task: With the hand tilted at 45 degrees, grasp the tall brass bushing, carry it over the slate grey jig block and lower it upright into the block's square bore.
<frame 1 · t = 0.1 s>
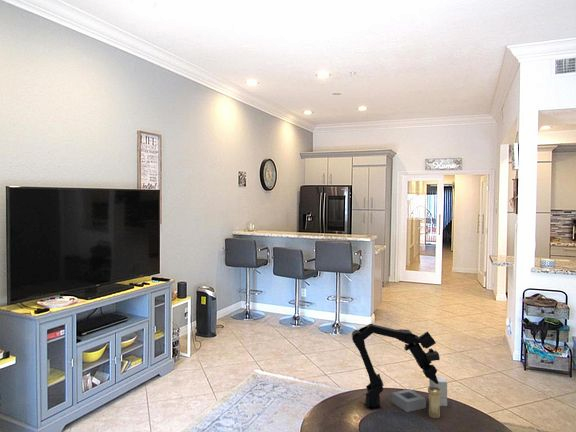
hand: (435, 380, 205), 15 cm above the table, tool tilted 35°, fingers open, 9 cm apart
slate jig: (408, 405, 210), on the table
supplement box: (438, 403, 212), on the table
brass bushing: (434, 415, 198), on the table
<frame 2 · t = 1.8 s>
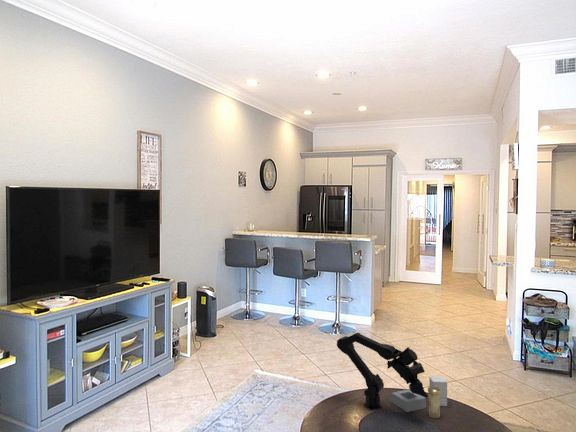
hand: (425, 392, 199), 11 cm above the table, tool tilted 45°, fingers open, 9 cm apart
nothing on the table moved.
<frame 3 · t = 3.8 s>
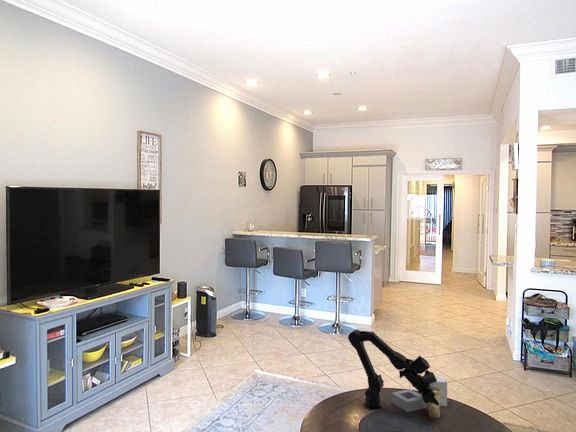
hand: (437, 402, 198), 7 cm above the table, tool tilted 45°, fingers closed on brass bushing, 5 cm apart
brass bushing: (434, 415, 198), on the table, touching gripper
everything else where it was.
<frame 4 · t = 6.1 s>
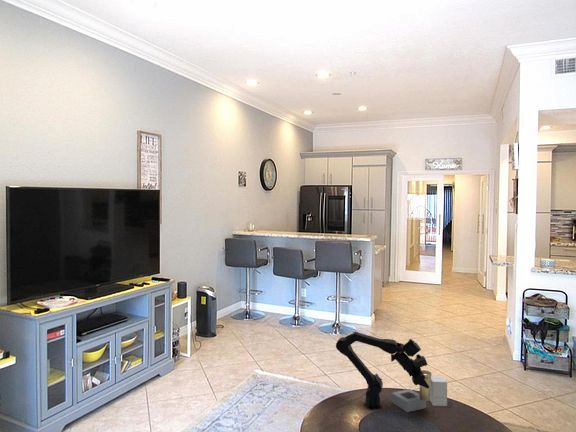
hand: (427, 385, 202), 13 cm above the table, tool tilted 45°, fingers closed on brass bushing, 5 cm apart
brass bushing: (424, 398, 202), point 7 cm above the table, touching gripper
everything else where it was.
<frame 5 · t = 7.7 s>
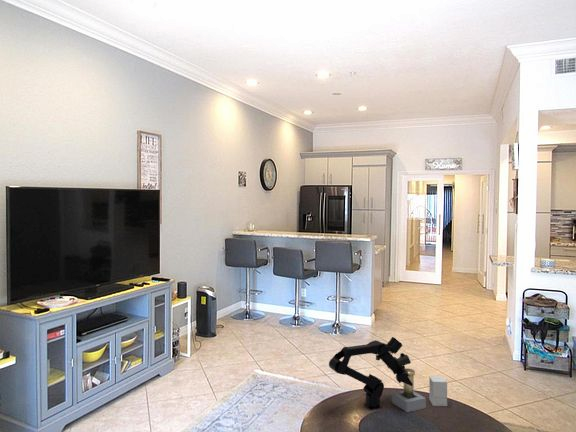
hand: (411, 383, 210), 11 cm above the table, tool tilted 45°, fingers closed on brass bushing, 5 cm apart
brass bushing: (408, 395, 210), point 5 cm above the table, touching gripper
everything else where it was.
when the fingers open (9 cm above the table, at t = 8.9 s): brass bushing stays where it is, resting on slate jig.
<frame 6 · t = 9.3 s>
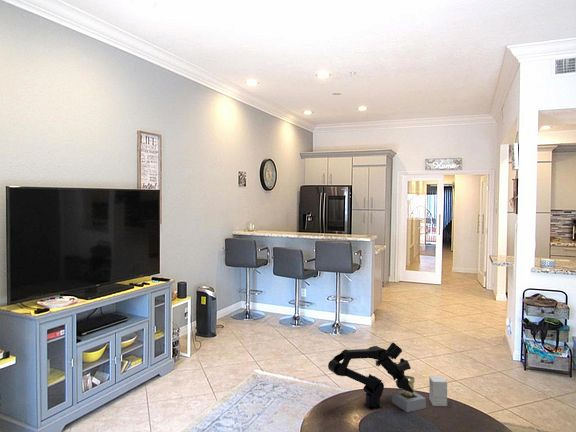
hand: (411, 388, 210), 9 cm above the table, tool tilted 45°, fingers open, 9 cm apart
brass bushing: (408, 403, 210), point 1 cm above the table, touching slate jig
everything else where it was.
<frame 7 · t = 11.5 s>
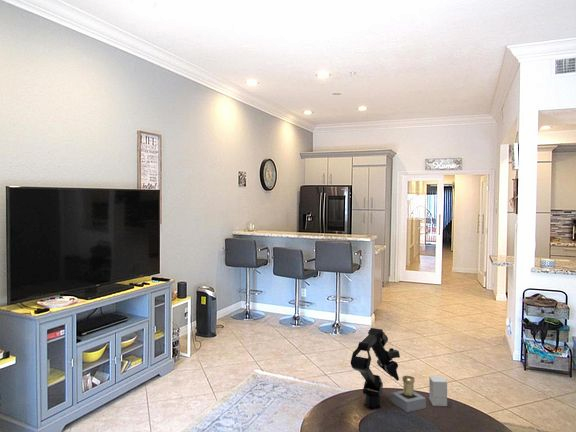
hand: (395, 378, 212), 13 cm above the table, tool tilted 30°, fingers open, 9 cm apart
nothing on the table moved.
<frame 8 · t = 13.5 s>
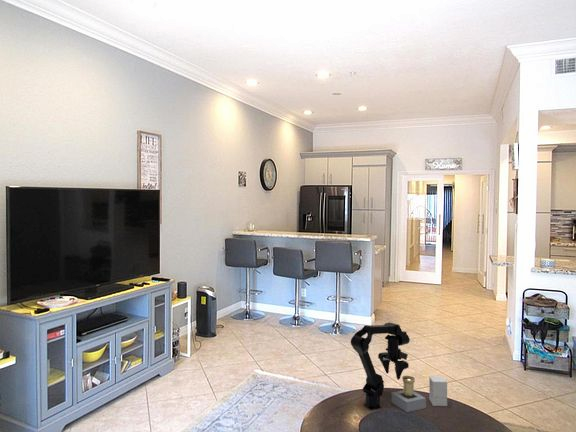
hand: (392, 376, 217), 12 cm above the table, tool pointing down, fingers open, 9 cm apart
nothing on the table moved.
at the end: brass bushing 0.1 cm off-centre on the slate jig, point 1.0 cm above the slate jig's base; brass bushing tilted 0°; the gripper is holding nothing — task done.
